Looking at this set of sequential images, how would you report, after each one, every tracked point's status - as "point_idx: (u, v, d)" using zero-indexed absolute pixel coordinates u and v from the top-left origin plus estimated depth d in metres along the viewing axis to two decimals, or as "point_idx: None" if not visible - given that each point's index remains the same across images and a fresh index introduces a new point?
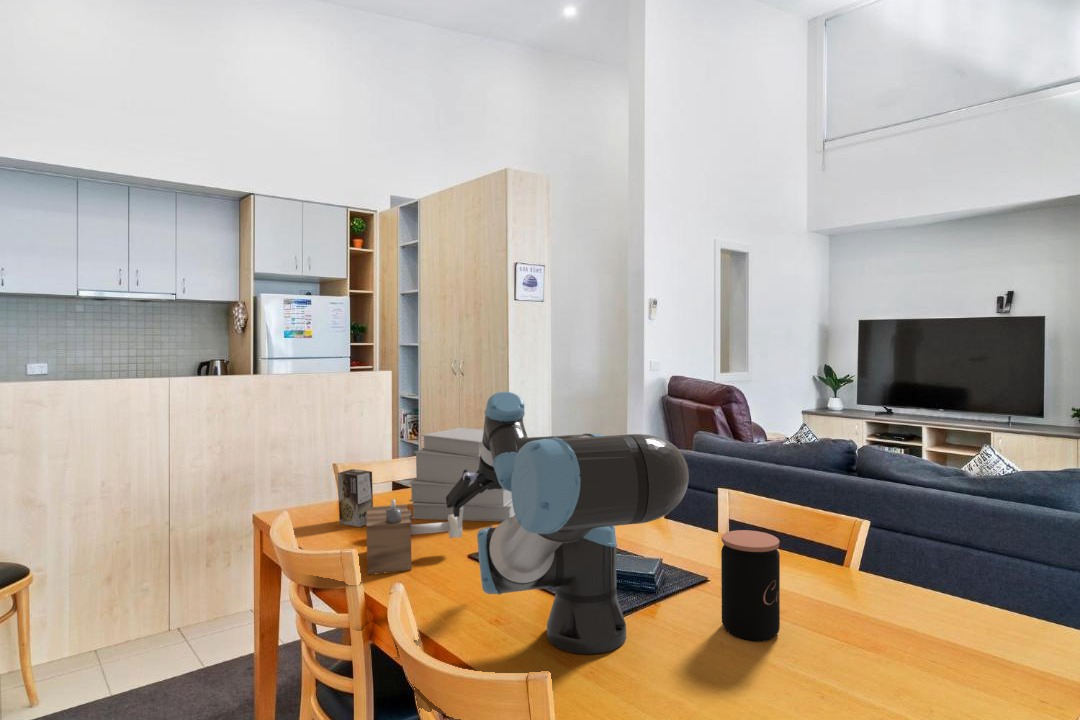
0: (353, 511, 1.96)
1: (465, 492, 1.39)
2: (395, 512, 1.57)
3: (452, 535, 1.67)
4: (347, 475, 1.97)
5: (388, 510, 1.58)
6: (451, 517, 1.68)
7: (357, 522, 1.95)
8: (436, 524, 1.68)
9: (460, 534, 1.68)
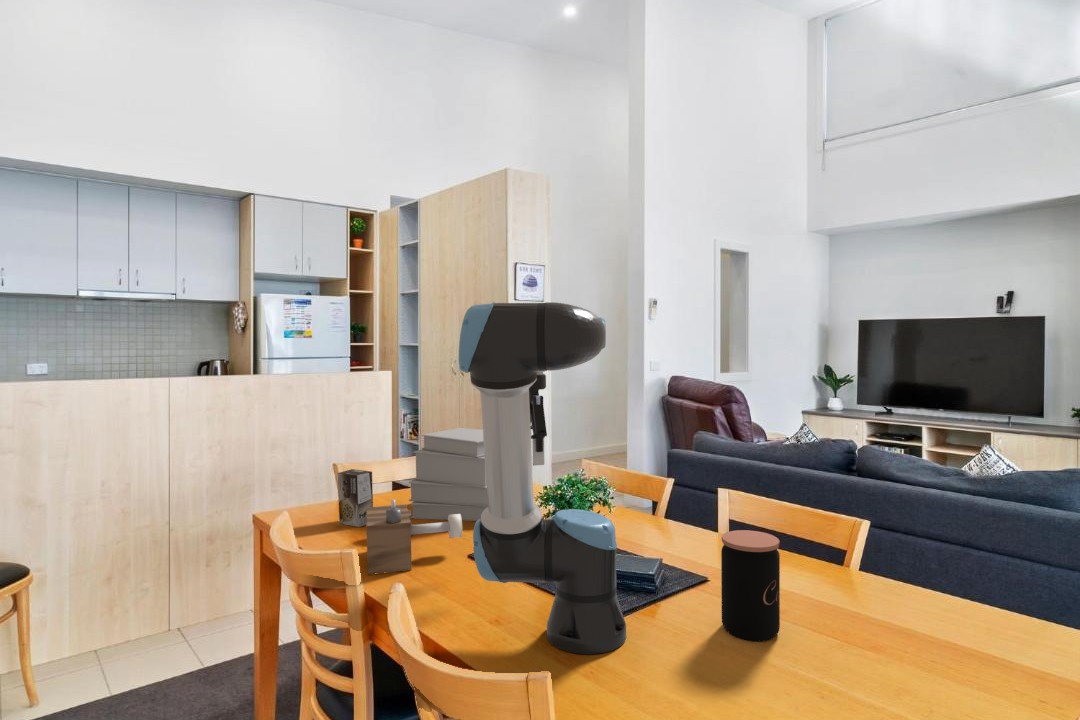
0: (353, 511, 1.96)
1: None
2: (395, 512, 1.57)
3: (452, 535, 1.67)
4: (347, 475, 1.97)
5: (388, 510, 1.58)
6: (451, 517, 1.68)
7: (357, 522, 1.95)
8: (436, 524, 1.68)
9: (460, 534, 1.68)
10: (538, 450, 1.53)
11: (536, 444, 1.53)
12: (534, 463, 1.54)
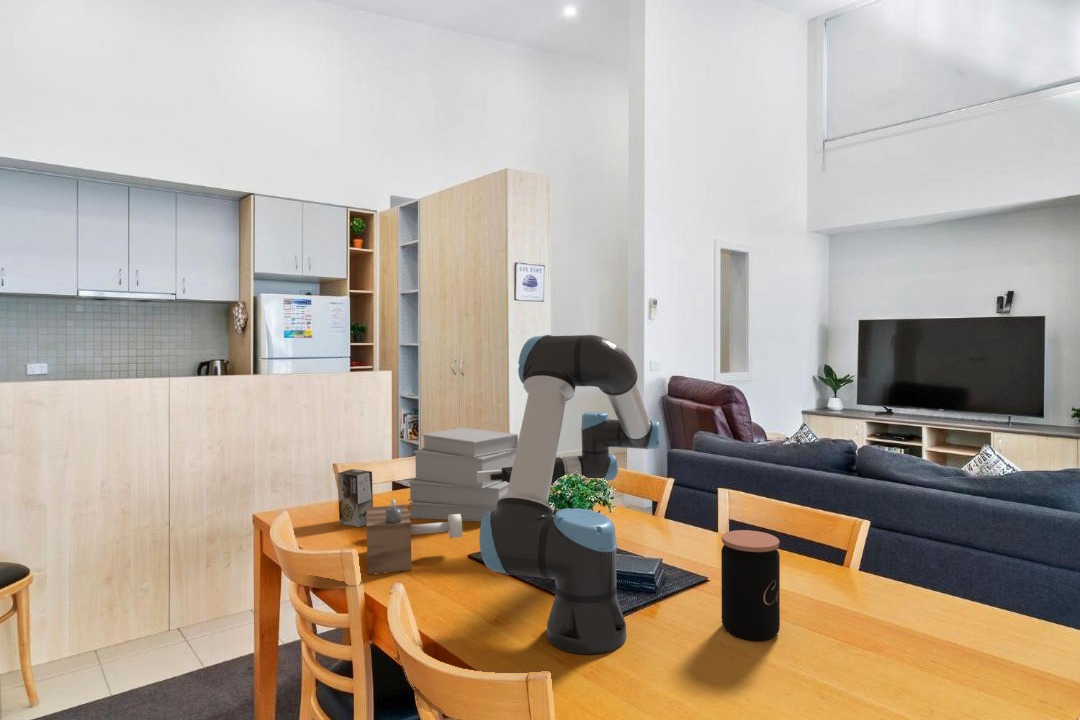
0: (353, 511, 1.96)
1: None
2: (395, 512, 1.57)
3: (452, 535, 1.67)
4: (347, 475, 1.97)
5: (388, 510, 1.58)
6: (451, 517, 1.68)
7: (357, 522, 1.95)
8: (436, 524, 1.68)
9: (460, 534, 1.68)
10: (492, 476, 1.70)
11: (497, 474, 1.71)
12: (479, 473, 1.70)
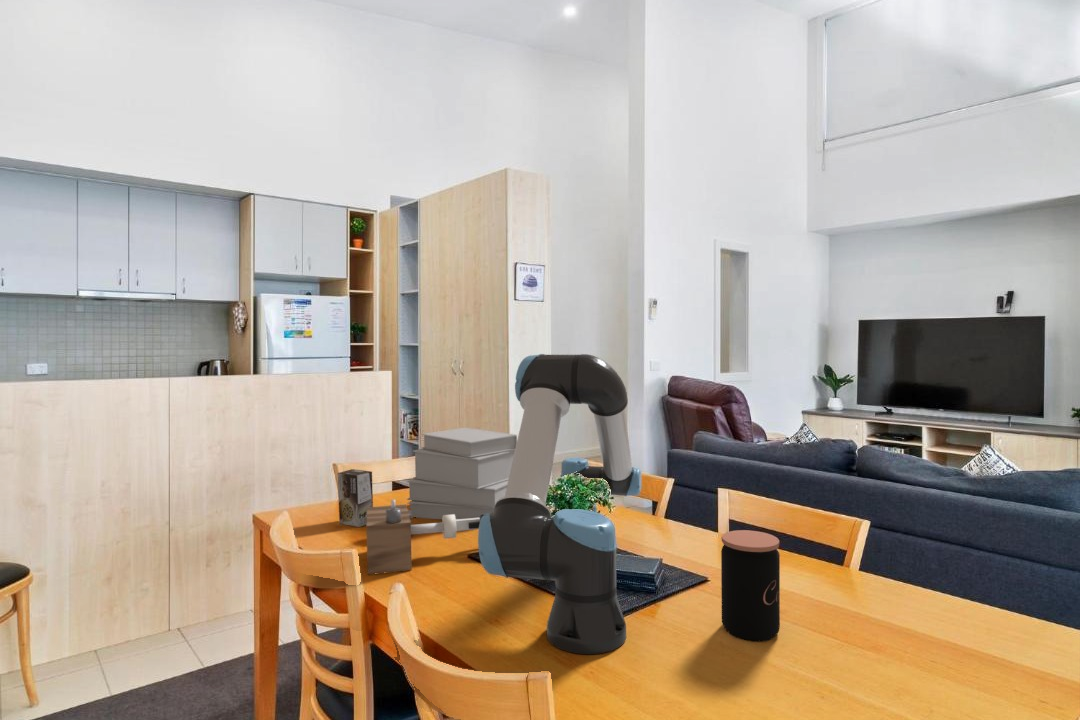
0: (353, 511, 1.96)
1: None
2: (395, 512, 1.57)
3: (446, 536, 1.67)
4: (347, 475, 1.97)
5: (388, 510, 1.58)
6: (445, 517, 1.68)
7: (357, 522, 1.95)
8: (430, 525, 1.68)
9: (454, 535, 1.68)
10: (470, 524, 1.70)
11: (475, 522, 1.71)
12: (457, 521, 1.70)
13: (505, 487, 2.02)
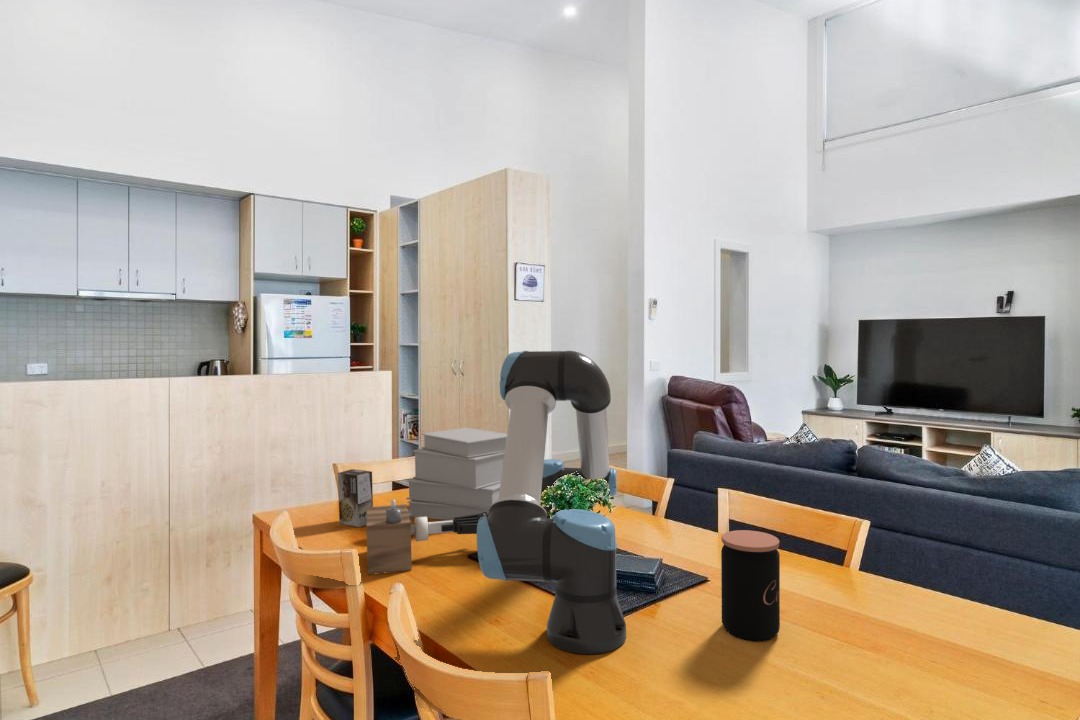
0: (353, 511, 1.96)
1: None
2: (395, 512, 1.57)
3: (418, 538, 1.65)
4: (347, 475, 1.97)
5: (388, 510, 1.58)
6: (417, 520, 1.66)
7: (357, 522, 1.95)
8: None
9: (426, 537, 1.66)
10: (443, 527, 1.67)
11: (448, 525, 1.68)
12: (430, 524, 1.68)
13: None
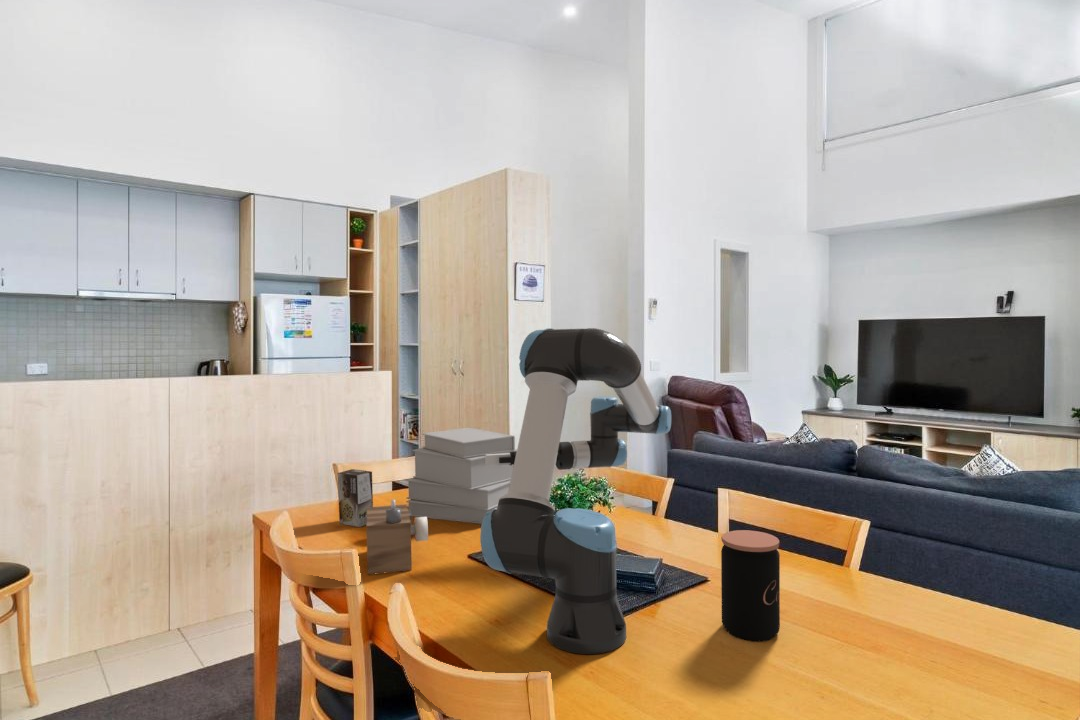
0: (353, 511, 1.96)
1: None
2: (395, 512, 1.57)
3: (418, 538, 1.65)
4: (347, 475, 1.97)
5: (388, 510, 1.58)
6: (417, 520, 1.66)
7: (357, 522, 1.95)
8: None
9: (426, 537, 1.66)
10: (501, 459, 1.69)
11: (505, 457, 1.70)
12: (488, 456, 1.69)
13: (500, 488, 2.01)
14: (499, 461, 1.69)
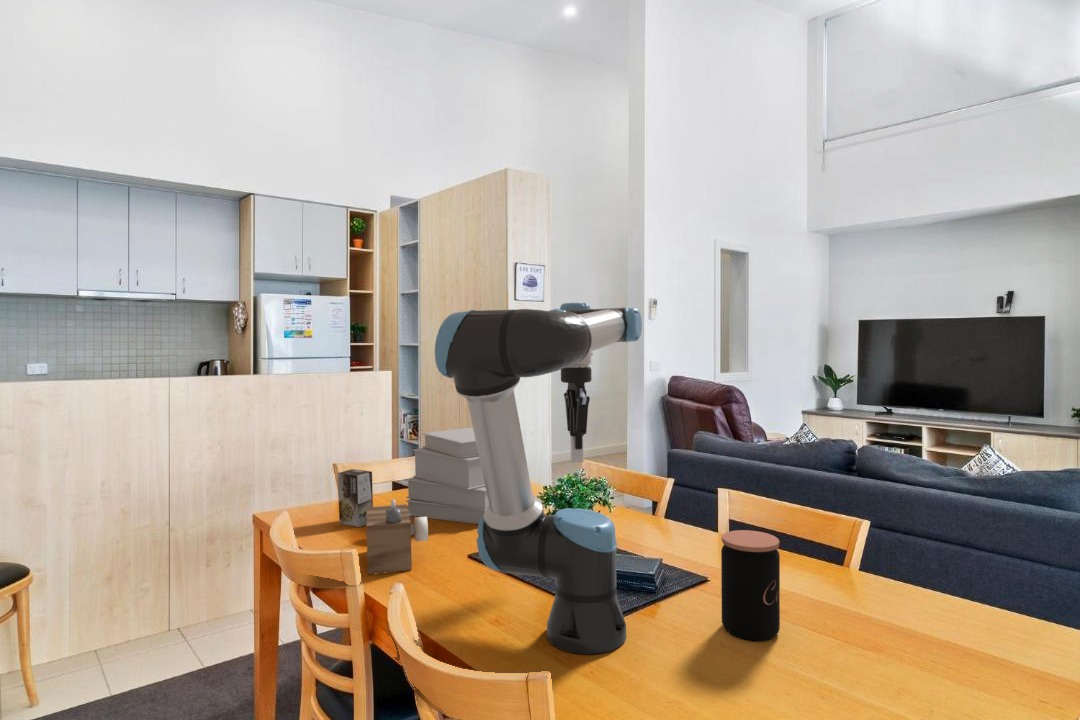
0: (353, 511, 1.96)
1: None
2: (395, 512, 1.57)
3: (418, 538, 1.65)
4: (347, 475, 1.97)
5: (388, 510, 1.58)
6: (417, 520, 1.66)
7: (357, 522, 1.95)
8: None
9: (426, 537, 1.66)
10: (577, 447, 1.56)
11: (575, 442, 1.56)
12: (573, 460, 1.57)
13: None
14: (579, 448, 1.57)
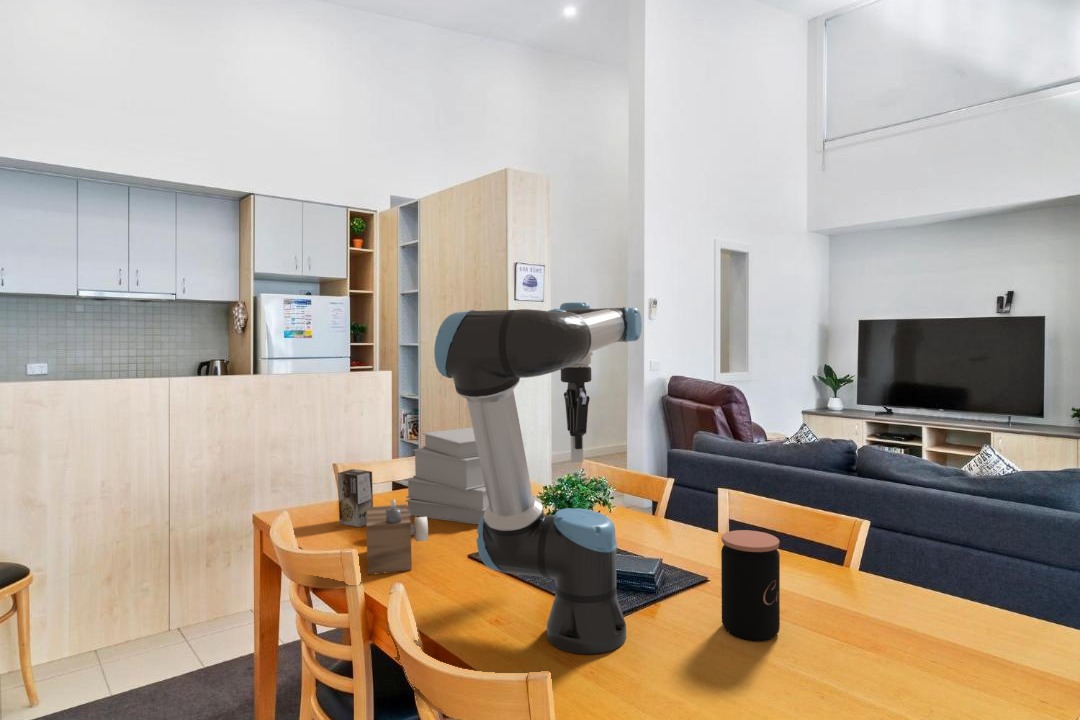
0: (353, 511, 1.96)
1: None
2: (395, 512, 1.57)
3: (418, 538, 1.65)
4: (347, 475, 1.97)
5: (388, 510, 1.58)
6: (417, 520, 1.66)
7: (357, 522, 1.95)
8: None
9: (426, 537, 1.66)
10: (577, 447, 1.56)
11: (575, 441, 1.56)
12: (573, 460, 1.57)
13: None
14: (579, 448, 1.57)
